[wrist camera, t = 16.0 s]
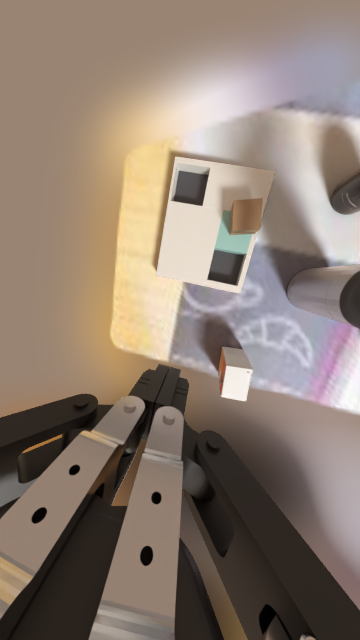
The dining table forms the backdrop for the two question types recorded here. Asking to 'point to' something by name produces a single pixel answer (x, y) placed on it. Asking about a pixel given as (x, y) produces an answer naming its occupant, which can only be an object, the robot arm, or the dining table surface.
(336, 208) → the supplement bottle
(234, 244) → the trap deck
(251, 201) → the walnut block
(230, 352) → the small box
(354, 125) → the dining table surface
